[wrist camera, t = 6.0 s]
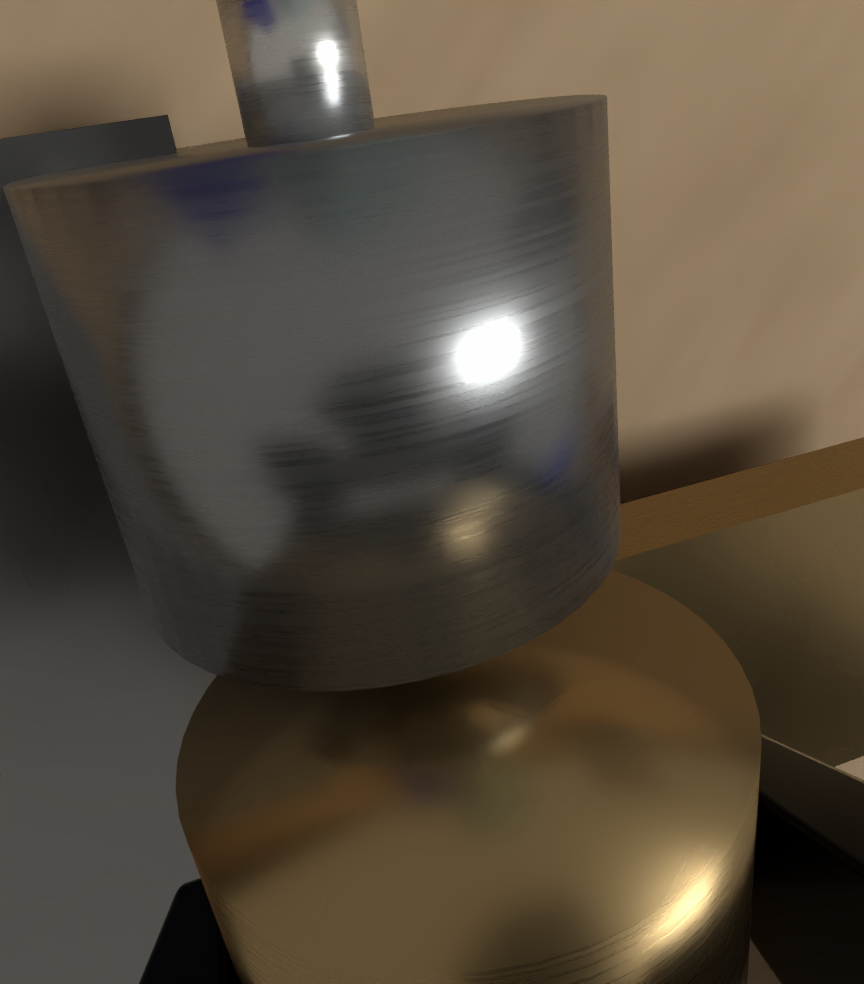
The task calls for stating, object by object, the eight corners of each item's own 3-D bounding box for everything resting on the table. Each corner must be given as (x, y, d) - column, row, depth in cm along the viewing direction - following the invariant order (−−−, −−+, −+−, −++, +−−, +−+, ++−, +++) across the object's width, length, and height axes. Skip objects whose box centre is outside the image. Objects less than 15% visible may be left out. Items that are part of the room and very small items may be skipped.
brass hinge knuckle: (970, 651, 12) (1364, 904, 8) (260, 900, 10) (332, 1414, 6) (1020, 394, 10) (1553, 560, 6) (170, 628, 8) (187, 1101, 4)
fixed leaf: (558, 921, 15) (705, 1209, 11) (-21, 1146, 13) (-97, 1605, 9) (470, -8, 8) (749, -117, 4) (-719, 141, 6) (-2132, 170, 2)
